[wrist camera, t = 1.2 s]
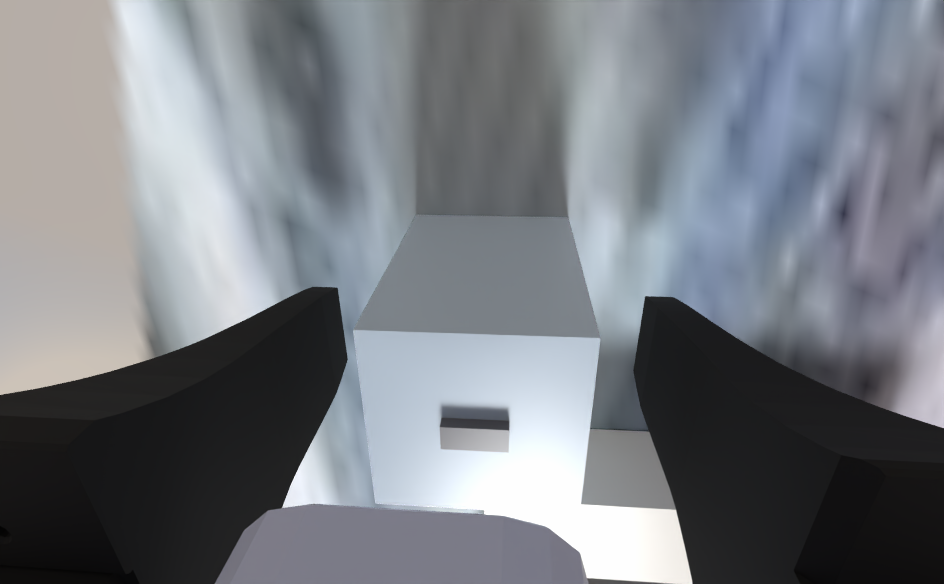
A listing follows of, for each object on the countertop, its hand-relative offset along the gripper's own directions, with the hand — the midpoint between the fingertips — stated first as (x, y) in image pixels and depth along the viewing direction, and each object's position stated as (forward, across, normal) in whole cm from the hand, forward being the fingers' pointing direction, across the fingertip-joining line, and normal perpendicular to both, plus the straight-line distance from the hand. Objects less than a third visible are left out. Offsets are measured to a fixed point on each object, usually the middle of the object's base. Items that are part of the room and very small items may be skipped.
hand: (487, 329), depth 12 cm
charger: (+3, 0, 0) cm, 3 cm away
